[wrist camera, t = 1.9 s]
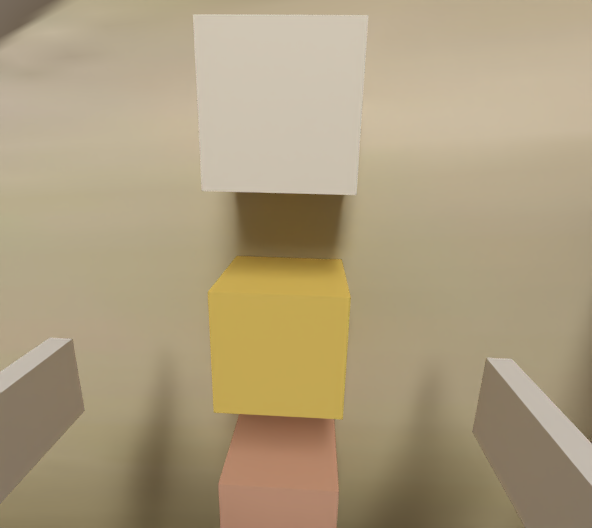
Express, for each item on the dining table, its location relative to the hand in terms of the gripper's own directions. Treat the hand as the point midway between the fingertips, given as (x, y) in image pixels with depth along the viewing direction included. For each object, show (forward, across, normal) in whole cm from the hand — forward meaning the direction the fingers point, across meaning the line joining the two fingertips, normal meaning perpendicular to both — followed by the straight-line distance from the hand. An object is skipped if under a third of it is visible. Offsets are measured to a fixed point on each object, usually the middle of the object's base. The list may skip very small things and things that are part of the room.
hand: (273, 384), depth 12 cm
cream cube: (+7, 0, -8) cm, 11 cm away
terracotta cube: (+7, 0, +9) cm, 11 cm away
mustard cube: (+7, 0, 0) cm, 7 cm away
